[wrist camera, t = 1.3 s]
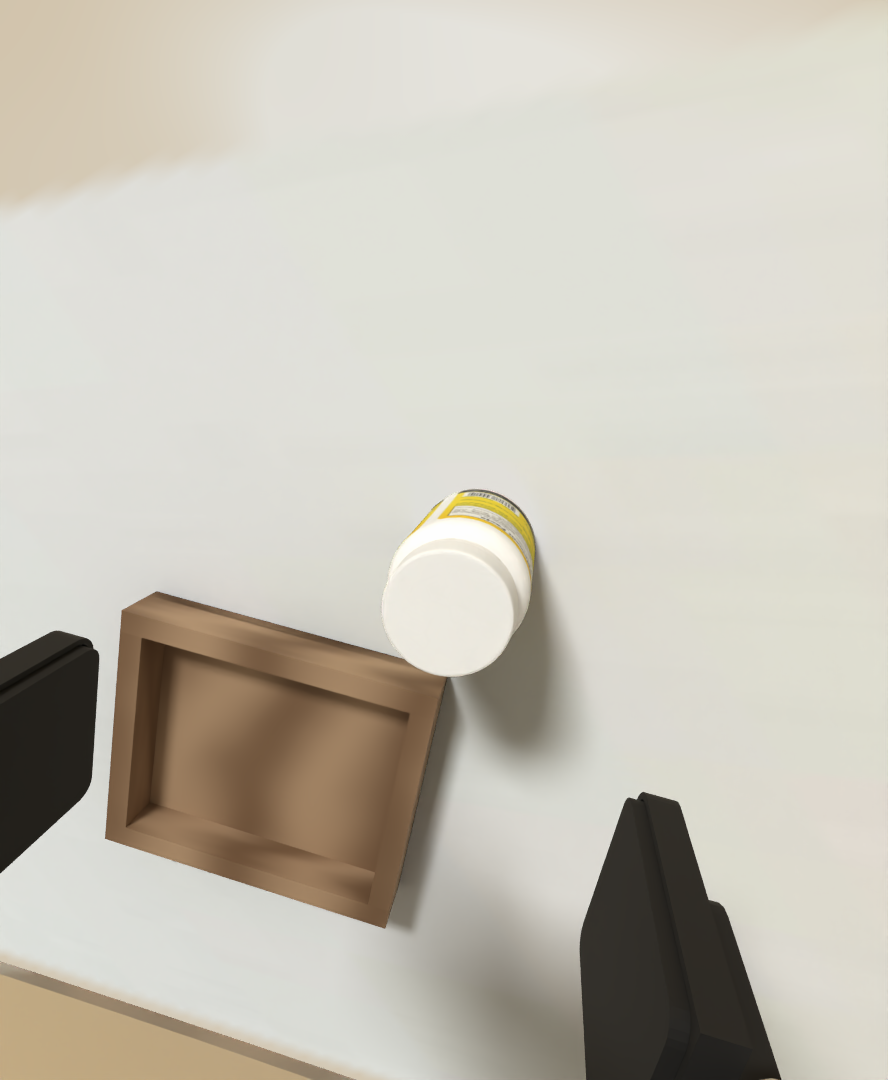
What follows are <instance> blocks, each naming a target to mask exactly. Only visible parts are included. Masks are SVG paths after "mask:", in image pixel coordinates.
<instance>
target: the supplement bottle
mask: <svg viewBox="0 0 888 1080" xmlns="http://www.w3.org/2000/svg"><path fill="white" fill-rule="evenodd" d="M534 557H535V538H534V533H533V529H532V526H531V524H530V522H529V520H528V518H527V516H526V515H525V513H524V512H523V511H522V510H521V508H520V507H519V506H518V505H517V504H516V503H514V502H513V501H512V500H511V499H509V498H508V497H506V496H504V495H502V494H500V493H498V492H495V491H491V490H487V489H466V490H462V491H458V492H456V493H453V494H451V495H449V496H447V497H446V498H444V499H443V500H442V501H440V502H439V503H438V504H437V505H436V506H435V507H434V508H433V509H432V510H431V511H430V512H429V513H428V514H427V516H426V517H425V518H424V519H423V520H422V521H421V523H420V524H419V525H418V526H417V527H416V528H415V530H414V531H413V532H412V533H411V534H410V535H409V536H408V537H407V538H406V539H405V540H404V541H403V543H402V544H401V545H400V546H399V548H398V549H397V551H396V553H395V554H394V557H393V559H392V562H391V565H390V569H389V573H388V580H387V584H386V587H385V589H384V593H383V597H382V603H381V615H382V622H383V626H384V629H385V632H386V635H387V637H388V639H389V641H390V642H391V644H392V646H393V647H394V648H395V650H396V651H397V652H398V653H399V654H400V655H401V656H402V657H403V658H404V659H405V660H406V661H407V662H409V663H410V664H411V665H413V666H415V667H416V668H418V669H420V670H422V671H424V672H427V673H430V674H433V675H438V676H445V677H458V676H465V675H469V674H472V673H476V672H478V671H480V670H482V669H484V668H486V667H487V666H489V665H490V664H491V663H493V662H494V661H495V660H496V659H497V658H498V657H499V656H500V655H501V654H502V652H503V651H504V650H505V648H506V646H507V645H508V643H509V641H510V638H511V636H512V635H513V634H514V632H515V631H516V630H517V629H518V627H519V626H520V624H521V623H522V621H523V619H524V617H525V614H526V612H527V609H528V606H529V602H530V596H531V588H532V577H533V567H534Z"/></svg>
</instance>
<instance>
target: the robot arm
mask: <svg viewBox="0 0 888 1080" xmlns="http://www.w3.org/2000/svg"><path fill="white" fill-rule="evenodd" d="M98 672H99V654H98V651H96V650H95V649H93V645H92V642H91V641H90V640H89V639H87V638H84V637H80V636H76V635H73V634H69V633H65V632H62V631H53V632H50V633H48V634H46V635H45V636H43V637H41V638H39V639H37V640H35V641H33V642H31V643H29V644H28V645H26V646H24V647H22V648H20V649H18V650H16V651H14V652H12V653H10V654H9V655H7V656H5V657H3V658H1V659H0V873H1V872H2V871H3V870H5V869H6V868H7V867H8V866H9V865H10V864H11V863H12V862H13V861H14V860H15V859H17V858H18V857H19V856H20V855H21V854H22V853H23V852H24V851H25V850H26V849H27V848H28V847H30V846H31V845H32V844H33V843H34V842H35V841H36V840H37V839H38V838H39V837H40V836H42V835H43V834H44V833H45V832H46V831H47V830H48V829H49V828H50V827H51V826H52V825H54V824H55V823H56V822H57V821H58V820H59V819H60V818H61V817H62V816H63V815H64V814H65V813H67V812H68V811H69V810H70V809H71V808H72V807H73V806H74V805H75V804H76V803H77V802H79V801H80V800H81V798H82V797H83V796H84V795H85V793H86V792H87V790H88V788H89V786H90V783H91V779H92V767H93V751H94V735H95V719H96V703H97V687H98ZM580 967H581V986H582V1005H583V1024H584V1043H585V1062H586V1080H781V1077H780V1074H779V1071H778V1068H777V1065H776V1062H775V1059H774V1056H773V1052H772V1049H771V1046H770V1043H769V1040H768V1037H767V1034H766V1031H765V1028H764V1025H763V1022H762V1019H761V1016H760V1013H759V1010H758V1007H757V1004H756V1000H755V997H754V994H753V991H752V988H751V985H750V982H749V979H748V976H747V973H746V970H745V967H744V964H743V961H742V958H741V955H740V952H739V948H738V945H737V942H736V939H735V936H734V933H733V930H732V927H731V924H730V921H729V918H728V915H727V913H726V911H725V909H724V907H723V906H722V905H721V904H720V903H718V902H714V901H711V900H708V897H707V894H706V890H705V887H704V884H703V880H702V877H701V874H700V870H699V867H698V864H697V860H696V857H695V854H694V850H693V847H692V844H691V840H690V837H689V834H688V830H687V827H686V824H685V820H684V817H683V814H682V810H681V807H680V805H679V803H678V802H677V801H674V800H670V799H667V798H663V797H659V796H656V795H652V794H649V793H645V792H642V793H641V794H640V795H639V797H638V799H637V800H636V799H632V798H627V800H626V801H625V803H624V806H623V809H622V812H621V815H620V818H619V820H618V823H617V826H616V829H615V832H614V835H613V838H612V841H611V844H610V847H609V850H608V853H607V856H606V859H605V861H604V864H603V867H602V870H601V873H600V876H599V879H598V882H597V885H596V888H595V891H594V894H593V897H592V899H591V902H590V905H589V908H588V911H587V914H586V917H585V920H584V923H583V927H582V931H581V937H580ZM0 1080H355V1079H352V1078H349V1077H346V1076H343V1075H340V1074H337V1073H334V1072H332V1071H329V1070H326V1069H323V1068H320V1067H317V1066H314V1065H311V1064H308V1063H305V1062H302V1061H299V1060H296V1059H293V1058H290V1057H287V1056H284V1055H281V1054H278V1053H275V1052H272V1051H270V1050H267V1049H264V1048H261V1047H258V1046H255V1045H252V1044H249V1043H246V1042H243V1041H240V1040H237V1039H234V1038H231V1037H228V1036H225V1035H222V1034H219V1033H216V1032H213V1031H210V1030H207V1029H204V1028H201V1027H197V1026H195V1025H192V1024H189V1023H186V1022H183V1021H180V1020H177V1019H174V1018H171V1017H168V1016H165V1015H161V1014H158V1013H156V1012H153V1011H150V1010H147V1009H144V1008H141V1007H138V1006H135V1005H132V1004H129V1003H126V1002H123V1001H120V1000H116V999H113V998H110V997H107V996H104V995H101V994H98V993H95V992H92V991H89V990H86V989H83V988H80V987H77V986H74V985H71V984H68V983H65V982H62V981H59V980H56V979H53V978H50V977H47V976H44V975H41V974H38V973H35V972H32V971H28V970H25V969H22V968H19V967H16V966H13V965H10V964H7V963H4V962H1V961H0Z"/></svg>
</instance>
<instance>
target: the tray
mask: <svg viewBox="0 0 888 1080" xmlns="http://www.w3.org/2000/svg"><path fill="white" fill-rule="evenodd" d="M446 680H447V677H445V676H438V675H433V674H430V673H427V672H424V671H422V670H420V669H418V668H416V667H415V666H413V665H411V664H410V663H409V662H407V661H406V660H405V659H402V658H398V657H394V656H391V655H387V654H383V653H380V652H376V651H372V650H369V649H365V648H361V647H358V646H354V645H350V644H347V643H343V642H339V641H336V640H332V639H328V638H325V637H321V636H317V635H314V634H310V633H307V632H303V631H299V630H296V629H292V628H288V627H285V626H281V625H277V624H274V623H270V622H266V621H263V620H259V619H255V618H252V617H248V616H244V615H241V614H237V613H233V612H230V611H226V610H222V609H219V608H215V607H211V606H208V605H204V604H200V603H197V602H193V601H190V600H186V599H182V598H179V597H175V596H171V595H168V594H164V593H160V592H155V593H153V594H151V595H149V596H147V597H146V598H144V599H142V600H140V601H138V602H136V603H134V604H133V605H131V606H129V607H127V608H125V609H123V610H122V615H121V629H120V642H119V656H118V670H117V684H116V697H115V711H114V725H113V738H112V752H111V766H110V779H109V793H108V807H107V820H106V834H105V839H108V840H111V841H114V842H117V843H120V844H123V845H126V846H129V847H133V848H136V849H139V850H142V851H145V852H148V853H151V854H154V855H157V856H161V857H164V858H167V859H170V860H173V861H176V862H179V863H182V864H185V865H189V866H192V867H195V868H198V869H201V870H204V871H207V872H210V873H214V874H217V875H220V876H223V877H226V878H229V879H232V880H235V881H238V882H242V883H245V884H248V885H251V886H254V887H257V888H260V889H263V890H266V891H270V892H273V893H276V894H279V895H282V896H285V897H288V898H291V899H294V900H298V901H301V902H304V903H307V904H310V905H313V906H316V907H319V908H322V909H326V910H329V911H332V912H335V913H338V914H341V915H344V916H347V917H350V918H354V919H357V920H360V921H363V922H366V923H369V924H372V925H375V926H378V927H382V928H385V927H386V924H387V921H388V918H389V914H390V911H391V908H392V905H393V902H394V898H395V895H396V892H397V889H398V885H399V881H400V877H401V872H402V868H403V864H404V859H405V855H406V851H407V847H408V842H409V838H410V834H411V830H412V825H413V821H414V817H415V812H416V808H417V804H418V800H419V795H420V791H421V787H422V783H423V778H424V774H425V770H426V765H427V761H428V757H429V753H430V748H431V744H432V740H433V736H434V731H435V727H436V723H437V718H438V714H439V710H440V706H441V701H442V697H443V693H444V689H445V684H446Z"/></svg>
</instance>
